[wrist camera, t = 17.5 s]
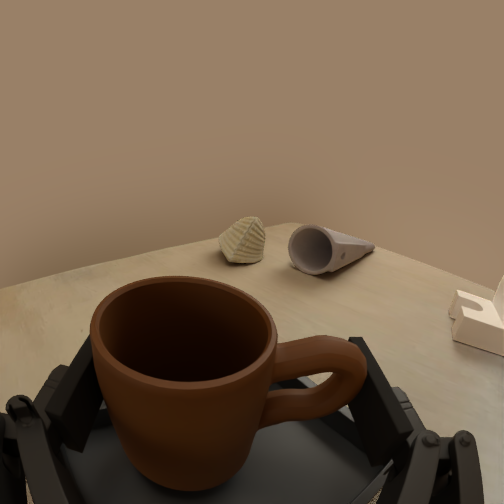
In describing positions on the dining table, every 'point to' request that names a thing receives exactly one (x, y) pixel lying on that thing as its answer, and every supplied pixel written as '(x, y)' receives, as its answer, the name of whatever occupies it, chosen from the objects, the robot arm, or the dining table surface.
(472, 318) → the block with arch cutout
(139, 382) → the mug
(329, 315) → the dining table surface
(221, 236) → the seashell
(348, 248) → the planter
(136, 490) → the tray
